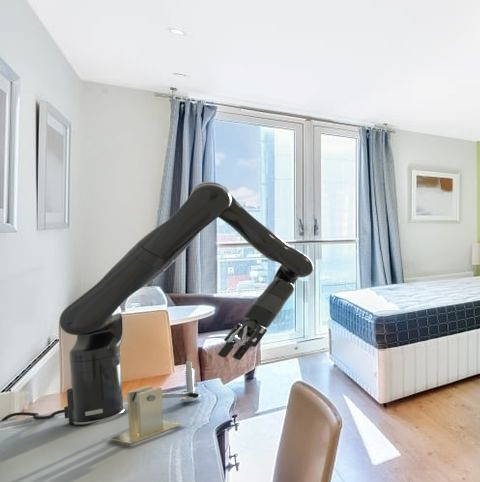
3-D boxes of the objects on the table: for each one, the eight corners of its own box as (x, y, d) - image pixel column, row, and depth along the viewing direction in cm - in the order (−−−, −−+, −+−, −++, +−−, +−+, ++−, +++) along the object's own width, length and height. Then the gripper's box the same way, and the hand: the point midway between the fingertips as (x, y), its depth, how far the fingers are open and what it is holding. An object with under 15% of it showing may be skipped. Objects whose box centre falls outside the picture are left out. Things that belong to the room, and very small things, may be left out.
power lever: (185, 397, 118) (188, 388, 118) (197, 400, 116) (199, 390, 117) (129, 401, 107) (133, 391, 107) (142, 403, 105) (145, 393, 106)
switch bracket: (161, 424, 114) (159, 381, 114) (181, 428, 112) (178, 384, 111) (110, 442, 105) (107, 395, 104) (130, 448, 102) (127, 399, 102)
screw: (199, 398, 131) (203, 402, 128) (178, 404, 127) (181, 408, 124) (197, 357, 130) (201, 360, 127) (175, 361, 126) (179, 364, 123)
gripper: (242, 303, 136) (204, 350, 127) (267, 304, 130) (228, 353, 121) (263, 314, 142) (228, 361, 132) (288, 316, 135) (252, 365, 126)
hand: (228, 357), depth 126 cm, fingers open, 8 cm apart
